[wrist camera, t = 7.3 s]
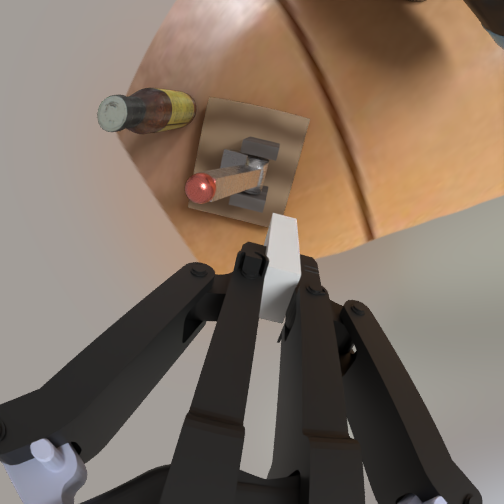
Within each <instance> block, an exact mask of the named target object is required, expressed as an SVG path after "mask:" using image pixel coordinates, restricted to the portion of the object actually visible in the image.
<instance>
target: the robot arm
mask: <svg viewBox="0 0 504 504" xmlns="http://www.w3.org/2000/svg"><path fill="white" fill-rule="evenodd" d="M409 1H416V2H420V1H426V0H409ZM463 1H464V2H465V3H466V4H467V5H468V7H469V8H470V9H471V10H472V12H473V13H474V14H475V15H476V17H477V18H478V19H479V21H480V22H481V24H482V26H483V28H484V29H485V30H486V31H487V32H488V33H489V34H490V35H491V37H492V38H493V39H494V41H495V42H496V43H497V44H498V45H499V46H500V47H501V48H502V49H504V0H463ZM285 315H286V320H285V324H284V326H283V329H282V331H281V334H280V336H279V339H278V341H277V342H278V343H279V342H280V340H281V357H280V374H279V389H278V403H277V416H276V428H275V440H274V451H273V462H272V466H271V469H270V471H269V473H268V476H267V479H263V478H260V477H257V476H254V475H252V474H249V473H246V472H244V471H242V470H239V468H240V462H241V455H242V449H243V443H244V436H245V427H244V426H243V421H244V414H245V408H246V402H247V395H248V389H249V382H250V375H251V369H252V361H253V355H254V349H255V342H256V335H257V327H258V321H259V318H261V319H266V320H270V321H274V322H278V323H283V320H284V318H285ZM206 321H217V324H216V327H215V330H214V333H213V336H212V339H211V343H210V346H209V349H208V352H207V355H206V359H205V362H204V365H203V368H202V371H201V374H200V378H199V381H198V384H197V387H196V390H195V394H194V397H193V400H192V404H191V407H190V410H189V412H188V413H187V415H186V418H185V420H184V423H183V427H182V429H181V433H180V436H179V439H178V443H177V446H176V449H175V453H174V456H173V459H172V462H171V464H169V465H164V466H160V467H156V468H154V469H151V470H149V471H147V472H145V473H143V474H141V475H140V476H137V477H136V478H134V479H132V480H130V481H128V482H126V483H124V484H122V485H120V486H118V487H116V488H114V489H112V490H110V491H108V492H105V493H103V494H101V495H99V496H96V497H94V498H92V499H90V500H87V501H85V502H82V503H80V504H365V491H364V476H363V464H364V467H365V470H366V473H367V476H368V479H369V482H370V485H371V488H372V491H373V493H374V496H375V498H376V500H377V502H378V504H482V496H481V494H480V492H479V491H478V489H477V488H476V487H475V486H474V485H473V484H472V483H471V481H470V480H469V479H468V478H467V477H466V476H465V474H464V473H463V472H462V471H461V470H460V469H459V468H458V466H457V465H456V464H455V463H454V462H453V461H452V459H451V457H450V454H449V452H448V450H447V448H446V446H445V444H444V441H443V439H442V437H441V435H440V433H439V431H438V429H437V427H436V425H435V423H434V421H433V419H432V417H431V415H430V413H429V411H428V409H427V407H426V405H425V404H424V402H423V400H422V398H421V396H420V394H419V392H418V391H417V389H416V387H415V385H414V383H413V381H412V380H411V378H410V376H409V374H408V372H407V371H406V369H405V367H404V365H403V364H402V362H401V360H400V358H399V357H398V355H397V353H396V352H395V350H394V348H393V347H392V345H391V343H390V342H389V340H388V338H387V337H386V335H385V333H384V332H383V330H382V328H381V327H380V325H379V323H378V322H377V320H376V319H375V317H374V315H373V314H372V312H371V311H370V309H369V308H368V307H367V306H365V305H364V304H363V303H361V302H359V301H355V300H348V301H346V302H345V304H344V306H342V305H339V304H337V303H335V302H333V301H331V300H330V299H329V294H328V292H327V290H326V289H325V288H324V287H323V286H321V282H320V277H319V271H318V265H317V263H316V261H315V260H314V259H313V258H312V257H308V256H304V255H301V254H300V253H299V241H298V230H297V219H295V218H291V217H287V216H284V215H280V214H276V213H273V214H272V218H271V221H270V225H269V229H268V232H267V236H266V239H265V243H264V246H263V245H260V244H256V243H252V242H247V243H245V244H244V245H243V246H242V249H241V251H239V252H238V254H237V258H236V262H235V267H234V271H233V272H232V273H229V274H225V275H216V274H215V271H214V270H213V268H212V267H210V266H208V265H207V264H203V263H198V262H193V263H188V264H186V265H185V266H183V267H182V268H181V269H180V270H178V271H177V272H176V273H175V274H173V275H172V276H171V277H170V278H168V279H167V280H166V281H165V282H164V283H162V284H161V285H160V286H159V287H157V288H156V289H155V290H154V291H152V292H151V293H150V294H149V295H148V296H146V297H145V298H144V299H143V300H142V301H140V302H139V303H138V304H137V305H136V306H134V307H133V308H132V309H131V310H130V311H128V312H127V313H126V314H125V315H124V316H122V317H121V318H120V319H119V320H118V321H117V322H115V323H114V324H113V325H112V326H111V327H109V328H108V329H107V330H106V331H105V332H103V333H102V334H101V335H100V336H99V337H98V338H96V339H95V340H94V341H93V342H92V343H91V344H90V345H88V346H87V347H86V348H85V349H84V350H83V351H81V352H80V353H79V354H78V355H77V356H76V357H75V358H74V359H72V360H71V361H70V362H69V363H68V364H67V365H66V366H64V367H63V368H62V369H61V370H60V371H59V372H58V373H57V374H56V375H54V376H53V377H52V378H51V379H50V380H49V381H48V382H47V383H46V384H44V386H42V387H41V388H40V389H38V390H35V391H33V392H31V393H28V394H26V395H23V396H21V397H18V398H16V399H13V400H11V401H8V402H6V403H3V404H1V405H0V461H1V462H2V463H3V465H4V467H5V469H6V471H7V473H8V475H9V477H10V479H11V481H12V483H13V485H14V487H15V489H16V491H17V493H18V495H19V496H20V498H21V500H22V502H23V503H24V504H74V496H75V494H76V492H77V491H78V490H79V489H80V488H81V487H82V486H83V485H84V484H85V482H86V479H87V470H86V467H85V465H84V464H85V463H87V462H88V461H89V460H90V459H92V458H93V457H94V456H96V455H97V454H98V453H99V452H100V451H101V450H102V449H103V448H104V447H105V446H106V445H107V444H108V442H109V441H110V440H111V439H112V438H113V436H114V435H115V434H116V433H117V432H118V431H119V429H120V428H121V427H122V426H123V424H124V423H125V422H126V421H127V420H128V418H129V417H130V416H131V415H132V414H133V412H134V411H135V410H136V409H137V408H138V406H139V405H140V404H141V403H142V402H143V400H144V399H145V398H146V397H147V395H148V394H149V393H150V392H151V390H152V389H153V388H154V387H155V386H156V385H157V383H158V382H159V381H160V380H161V378H162V377H163V376H164V375H165V374H166V372H167V371H168V370H169V369H170V367H171V366H172V365H173V364H174V362H175V361H176V360H177V359H178V358H179V356H180V355H181V354H182V353H183V352H184V350H185V349H186V348H187V347H188V345H189V344H190V343H191V341H192V340H193V339H194V338H195V337H196V336H197V334H198V333H199V332H200V330H201V329H202V328H203V327H204V326H205V324H206ZM354 345H355V347H356V350H357V351H356V352H355V353H354V351H353V349H352V348H353V346H354ZM347 419H348V422H349V424H350V427H351V430H352V433H353V436H354V439H352V438H350V436H349V434H348V426H347ZM362 462H363V464H362Z"/></svg>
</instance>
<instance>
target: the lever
mask: <svg viewBox="0 0 504 504" xmlns="http://www.w3.org/2000/svg"><path fill="white" fill-rule="evenodd" d="M268 164H269V160H268V159H265V158H262V157H258V156H255V155H250V154H246V153H242V152H240V151H238V150H234V149H224V152H223V157H222V161H221V166H220V169H214V170H208V171H203V172H197V173H196V174H194V175H192V176H191V177H190V178H189V179H188V180H187V182H186V185H185V192H186V195H187V197H188V198H189V199H190V200H191V201H192V202H194V203H198V204H203V203H206V202H208V201H210V202H213V201H216V200H219V199H222V198H225V197H227V196H230V195H233V194H236V193H239V192H242V191H243V192H246V193H249V194H256V195H258V194H261V191H262V187H263V183H264V179H265V176H266V172H267V168H268Z"/></svg>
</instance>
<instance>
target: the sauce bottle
mask: <svg viewBox="0 0 504 504" xmlns="http://www.w3.org/2000/svg"><path fill="white" fill-rule="evenodd" d="M195 112H196V105H195V102H194V100H193V99H192V97H191V96H189V95H188V94H186V93H183V92H179V91H173V90H166V89H158V88H145V89H141V90H139V91H137V92H136V93H134V94H132V95H130V96H129V97H126V96H124V95H113V96H109V97H107V98H106V99H105V100H104V101H102V103H101V104H100V106H99V109H98V114H97V115H98V122H99V125H100V127H102V129H103V130H105V131H108V132H117V131H121V130H123V129H125V128H126V129H128V130H130V131H132V132H134V133H137V134H147V133H155V132H160V131H165V130H171V129H176V128H181V127H183V126H185V125H187V124H188V123H190V122H191V121H192V119H193V118H194V116H195Z"/></svg>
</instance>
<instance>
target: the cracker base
mask: <svg viewBox="0 0 504 504" xmlns="http://www.w3.org/2000/svg"><path fill="white" fill-rule="evenodd" d="M309 121H310V119H309V118H305V117H302V116H298V115H294V114H290V113H287V112H283V111H279V110H275V109H271V108H266V107H262V106H257V105H253V104H248V103H243V102H238V101H232V100H227V99H221V98H215V97H209V100H208V104H207V108H206V113H205V118H204V122H203V127H202V132H201V137H200V142H199V147H198V152H197V157H196V163H195V168H194V174H196V173H197V172H203V171H208V170H214V169H220V166H221V161H222V157H223V152H224V149H234V150H238V151H240V152H242V153H246V154H250V155H255V156H258V157H262V158H265V159H268V160H269V164H268V168H267V172H266V176H265V179H264V183H263V187H262V191H261V194H258V195H256V194H249V193H246V192H243V191H242V192H239V193H236V194H233V195H230V196H227V197H225V198H222V199H219V200H216V201H213V202H210V201H208V202H206V203H203V204H198V203H194V202H192V201H191V200H190V199H189V204H188V208H192V209H196V210H200V211H204V212H208V213H212V214H217V215H221V216H225V217H229V218H233V219H237V220H241V221H245V222H249V223H253V224H257V225H261V226H265V227H268V228H269V225H270V221H271V218H272V214H273V213H276V214H280V215H283V214H284V211H285V207H286V204H287V200H288V197H289V193H290V190H291V186H292V183H293V179H294V176H295V172H296V168H297V165H298V161H299V158H300V154H301V150H302V147H303V143H304V140H305V136H306V132H307V128H308V125H309ZM194 174H193V175H194Z"/></svg>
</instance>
